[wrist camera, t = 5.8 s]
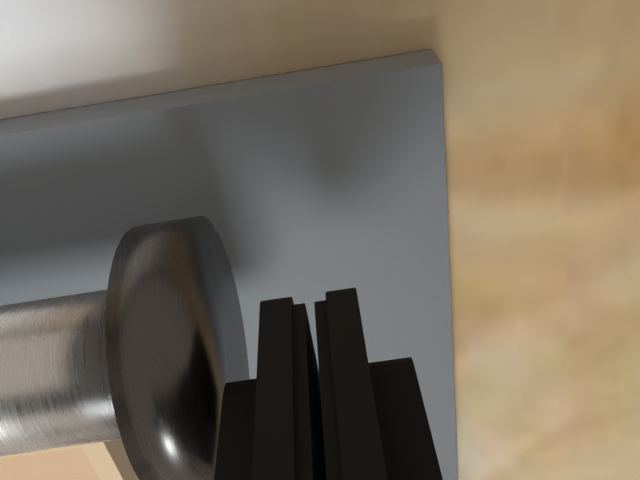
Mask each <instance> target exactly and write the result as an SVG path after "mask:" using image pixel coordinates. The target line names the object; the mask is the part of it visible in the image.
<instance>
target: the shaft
mask: <svg viewBox="0 0 640 480" xmlns="http://www.w3.org/2000/svg"><path fill="white" fill-rule="evenodd" d="M249 379H250V377H249V365H248V355H247V346H246V339H245V331H244V325H243V319H242V313H241V307H240V302H239V298H238V293H237V289H236V284H235V280H234V276H233V273H232V269H231V266H230V262H229V259H228V256H227V253H226V250H225V247H224V245H223V243H222V240H221V238H220V236H219V234H218V232H217V230H216V228H215V227H214V225H213V224H212V223H211V221H210V220H209V219H207V218H206V217H204V216H196V217H190V218H184V219H177V220H171V221H164V222H158V223H152V224H145V225H139V226H135V227H132V228H131V229H130V230H128V231H127V232H126V233H125V235H124V236H123V237H122V239H121V241H120V243H119V245H118V247H117V249H116V252H115V255H114V258H113V261H112V266H111V270H110V275H109V282H108V289H107V290H101V291H94V292H87V293H81V294H74V295H68V296H61V297H55V298H48V299H41V300H35V301H28V302H22V303H15V304H9V305H2V306H0V456H7V455H14V454H21V453H28V452H35V451H42V450H49V449H57V448H64V447H71V446H78V445H85V444H92V443H99V442H106V441H113V440H120V439H121V440H122V442H123V445H124V448H125V451H126V454H127V457H128V459H129V461H130V463H131V465H132V468H133V470H134V472H135V473H136V475H137V477H138V479H139V480H214V474H215V465H216V455H217V446H218V436H219V427H220V417H221V408H222V398H223V391H224V386H225V384H226V383H228V382H235V381H242V380H249Z"/></svg>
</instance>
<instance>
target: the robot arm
mask: <svg viewBox="0 0 640 480" xmlns="http://www.w3.org/2000/svg"><path fill="white" fill-rule="evenodd" d="M325 295H326V300H323V301H316V302H314V307H315V321H316V335H317V350H318V364H319V370H318V365H317V360H316V355H315V350H314V344H313V339H312V334H311V329H310V324H309V319H308V314H307V309H306V305H305V303H302V304H295V305H294V302H293V299H292V297H285V298H279V299H272V300H265V301H261V302H260V311H259V333H258V355H257V376H256V379H249V380H242V381H235V382H228V383H226V384H225V386H224V391H223V398H222V408H221V417H220V427H219V436H218V446H217V455H216V465H215V474H214V480H443V478H442V474H441V470H440V466H439V462H438V458H437V454H436V450H435V446H434V442H433V438H432V434H431V430H430V426H429V422H428V418H427V414H426V410H425V406H424V402H423V398H422V394H421V390H420V386H419V382H418V378H417V374H416V370H415V366H414V363H413V360H412V357H407V358H400V359H393V360H386V361H379V362H371V363H368V357H367V351H366V345H365V339H364V333H363V327H362V321H361V315H360V308H359V302H358V296H357V290H356V287H355V288H348V289H341V290H334V291H327V292H325Z"/></svg>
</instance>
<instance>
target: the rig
mask: <svg viewBox="0 0 640 480" xmlns="http://www.w3.org/2000/svg"><path fill="white" fill-rule="evenodd" d="M196 216H204V217H206V218H207V219H209V220H210V221H211V223H212V224H213V225H214V227H215V228H216V230H217V232H218V234H219V236H220V238H221V240H222V243H223V245H224V247H225V250H226V253H227V256H228V259H229V262H230V266H231V269H232V273H233V276H234V280H235V284H236V289H237V293H238V298H239V302H240V307H241V313H242V319H243V325H244V331H245V339H246V346H247V355H248V365H249V377H250V379H256V376H257V355H258V333H259V311H260V302H261V301H265V300H272V299H279V298H285V297H292V299H293V302H294V305H295V304H302V303H305V305H306V309H307V314H308V319H309V324H310V329H311V334H312V339H313V344H314V350H315V355H316V360H317V365H318V370H319V364H318V350H317V335H316V321H315V307H314V302H316V301H323V300H326V295H325V292H327V291H334V290H341V289H348V288H355V287H356V290H357V296H358V302H359V308H360V315H361V321H362V327H363V333H364V339H365V345H366V351H367V357H368V363H371V362H379V361H386V360H393V359H400V358H407V357H412V360H413V363H414V366H415V370H416V374H417V378H418V382H419V386H420V390H421V394H422V398H423V402H424V406H425V410H426V414H427V418H428V422H429V426H430V430H431V434H432V438H433V442H434V446H435V450H436V454H437V458H438V462H439V466H440V470H441V474H442V478H443V480H458V468H457V443H456V417H455V391H454V365H453V340H452V314H451V288H450V262H449V237H448V211H447V185H446V159H445V134H444V108H443V82H442V63H441V62H440V61H439V59H438V58H437V56H436V55H435V53H434V52H433V51H432V49H431V50H425V51H419V52H413V53H406V54H400V55H394V56H388V57H382V58H376V59H370V60H364V61H358V62H352V63H345V64H339V65H333V66H327V67H321V68H315V69H309V70H303V71H297V72H291V73H285V74H278V75H272V76H266V77H260V78H254V79H248V80H242V81H236V82H230V83H224V84H218V85H211V86H205V87H199V88H193V89H187V90H181V91H175V92H169V93H163V94H157V95H150V96H144V97H138V98H132V99H126V100H120V101H114V102H108V103H102V104H96V105H90V106H83V107H77V108H71V109H65V110H59V111H53V112H47V113H41V114H35V115H29V116H22V117H16V118H10V119H4V120H0V306H2V305H9V304H15V303H22V302H28V301H35V300H41V299H48V298H55V297H61V296H68V295H74V294H81V293H87V292H94V291H101V290H107V289H108V282H109V275H110V270H111V266H112V261H113V258H114V255H115V252H116V249H117V247H118V245H119V243H120V241H121V239H122V237H123V236H124V235H125V233H126V232H127V231H128V230H130V229H131V228H132V227H135V226H139V225H145V224H152V223H158V222H164V221H171V220H177V219H184V218H190V217H196ZM0 480H139V479H138V477H137V475H136V473H135V472H134V470H133V468H132V465H131V463H130V461H129V459H128V457H127V454H126V451H125V448H124V445H123V442H122V440H121V439H120V440H113V441H106V442H99V443H92V444H85V445H78V446H71V447H64V448H57V449H49V450H42V451H35V452H28V453H21V454H14V455H7V456H0Z"/></svg>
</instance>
